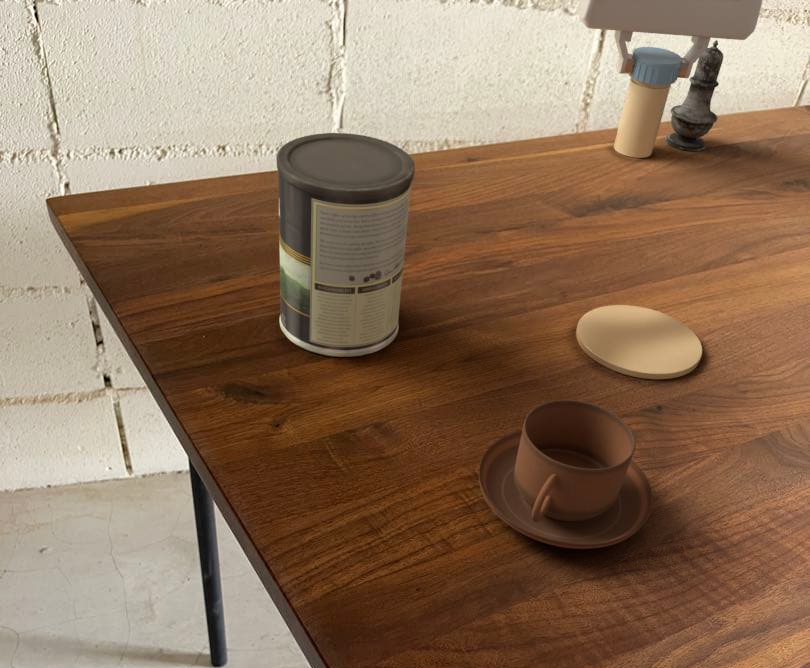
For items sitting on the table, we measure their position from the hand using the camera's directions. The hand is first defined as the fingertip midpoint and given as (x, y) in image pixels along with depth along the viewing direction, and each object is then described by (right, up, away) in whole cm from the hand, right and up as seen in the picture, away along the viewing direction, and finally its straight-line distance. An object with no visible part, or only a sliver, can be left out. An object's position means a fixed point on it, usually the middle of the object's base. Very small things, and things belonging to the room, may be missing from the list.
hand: (651, 74), depth 104 cm
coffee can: (-35, -36, -28) cm, 58 cm away
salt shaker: (+7, -4, +10) cm, 13 cm away
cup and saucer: (-18, -52, -42) cm, 69 cm away
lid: (0, +1, -1) cm, 2 cm away
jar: (-1, -6, +6) cm, 9 cm away
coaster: (-9, -37, -26) cm, 46 cm away
